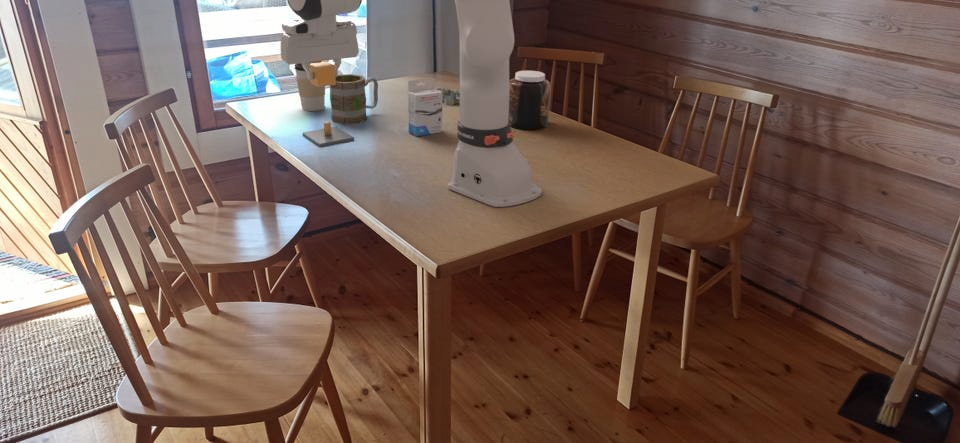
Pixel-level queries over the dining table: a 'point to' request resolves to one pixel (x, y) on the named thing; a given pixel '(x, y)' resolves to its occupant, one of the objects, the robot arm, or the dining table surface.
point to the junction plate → (328, 135)
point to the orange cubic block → (323, 74)
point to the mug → (350, 98)
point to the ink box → (424, 107)
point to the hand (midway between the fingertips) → (322, 77)
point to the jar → (529, 101)
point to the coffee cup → (309, 90)
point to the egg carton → (446, 96)
